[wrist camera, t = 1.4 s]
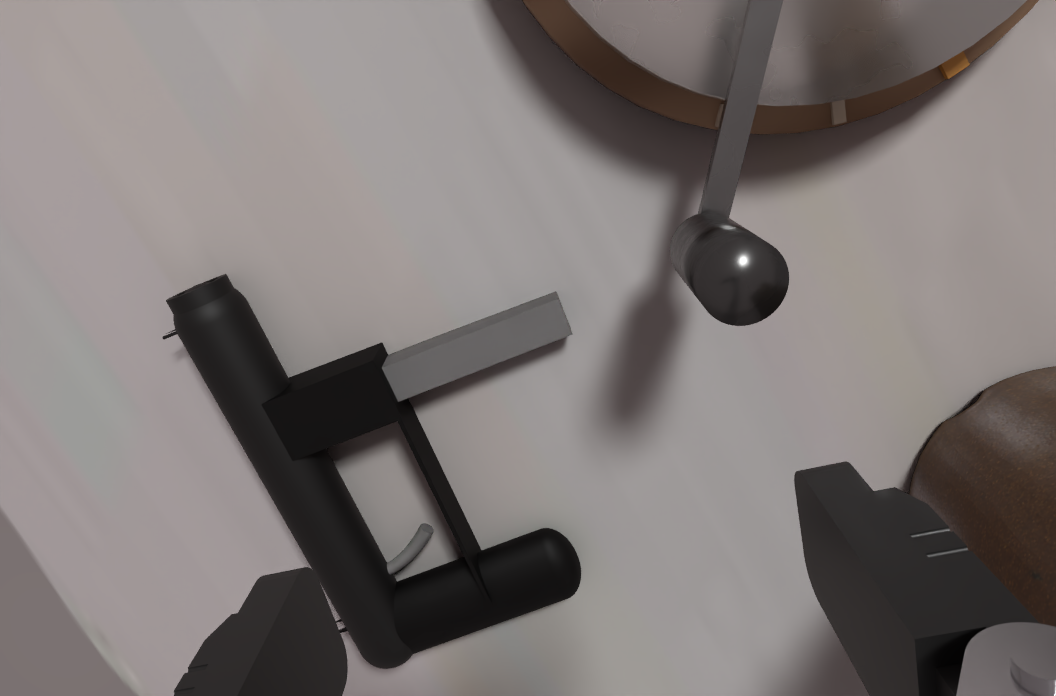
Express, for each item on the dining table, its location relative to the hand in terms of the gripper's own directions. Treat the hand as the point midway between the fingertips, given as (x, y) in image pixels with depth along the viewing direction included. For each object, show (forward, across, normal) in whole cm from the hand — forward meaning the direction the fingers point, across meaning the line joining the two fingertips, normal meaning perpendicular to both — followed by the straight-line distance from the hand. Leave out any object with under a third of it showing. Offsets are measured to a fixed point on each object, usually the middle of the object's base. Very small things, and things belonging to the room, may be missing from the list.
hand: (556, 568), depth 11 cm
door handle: (+21, +7, +6) cm, 23 cm away
